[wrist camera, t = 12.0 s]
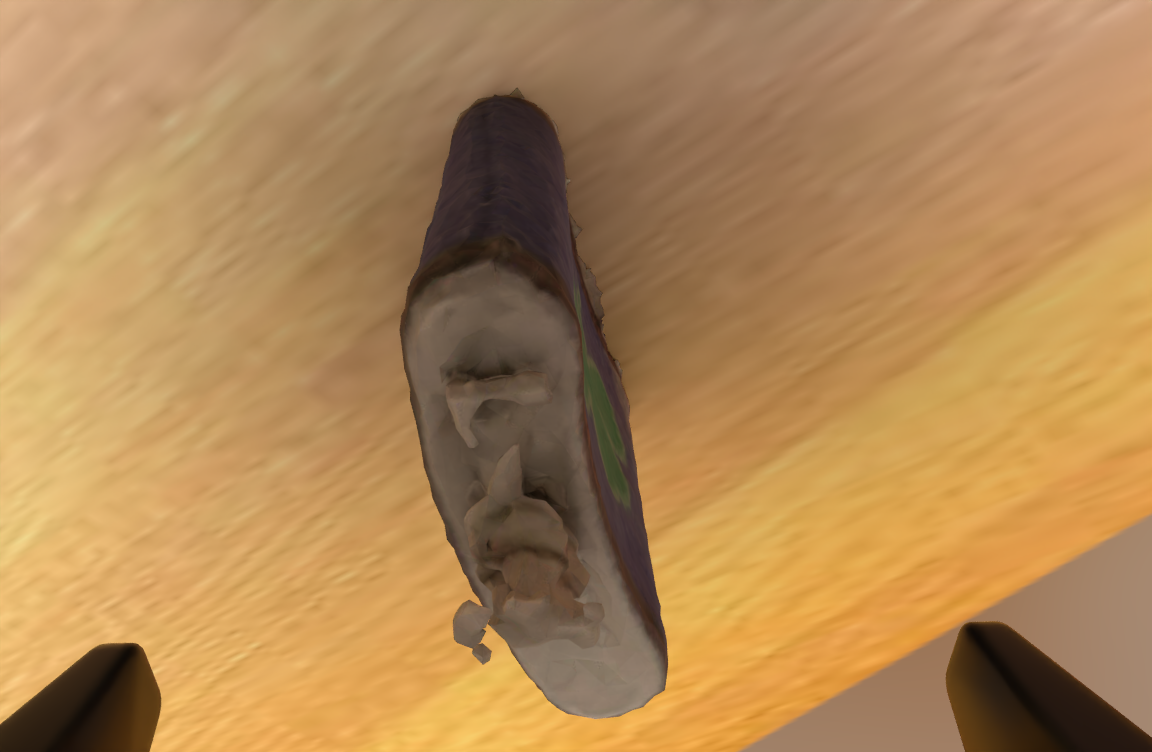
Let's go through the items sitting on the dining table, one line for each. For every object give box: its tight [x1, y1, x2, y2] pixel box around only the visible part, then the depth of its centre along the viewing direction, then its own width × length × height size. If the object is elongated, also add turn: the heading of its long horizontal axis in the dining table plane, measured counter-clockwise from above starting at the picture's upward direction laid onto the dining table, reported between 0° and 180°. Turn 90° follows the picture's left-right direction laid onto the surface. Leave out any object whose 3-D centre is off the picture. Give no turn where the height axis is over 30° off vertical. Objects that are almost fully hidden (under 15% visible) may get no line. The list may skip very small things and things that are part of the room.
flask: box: [400, 88, 668, 719], centre depth 16 cm, size 9×3×11 cm, turn 14°
